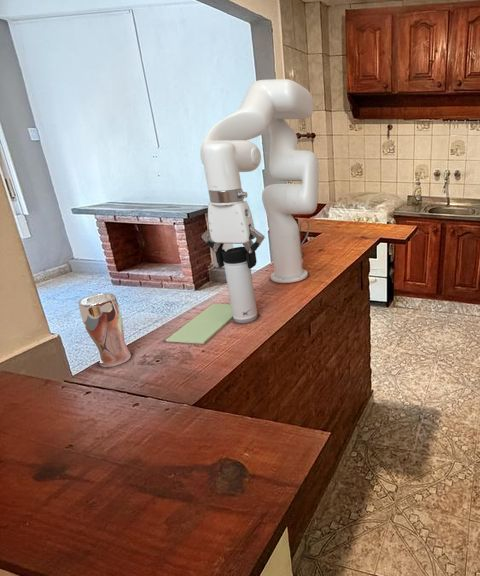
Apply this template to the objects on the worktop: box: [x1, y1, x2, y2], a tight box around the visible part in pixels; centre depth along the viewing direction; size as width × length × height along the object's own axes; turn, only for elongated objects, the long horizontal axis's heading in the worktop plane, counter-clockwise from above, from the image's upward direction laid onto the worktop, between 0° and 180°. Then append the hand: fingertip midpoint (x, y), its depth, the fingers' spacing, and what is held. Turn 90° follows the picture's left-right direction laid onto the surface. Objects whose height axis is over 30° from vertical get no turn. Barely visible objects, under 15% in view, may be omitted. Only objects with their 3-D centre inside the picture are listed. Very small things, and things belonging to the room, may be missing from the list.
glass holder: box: [293, 217, 310, 258], centre depth 160 cm, size 9×14×15 cm, turn 139°
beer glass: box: [77, 292, 132, 368], centre depth 87 cm, size 7×7×15 cm
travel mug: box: [222, 246, 259, 324], centre depth 104 cm, size 6×7×20 cm
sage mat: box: [165, 302, 233, 345], centre depth 106 cm, size 22×10×1 cm, turn 172°
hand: (237, 265), depth 102 cm, fingers open, 7 cm apart
